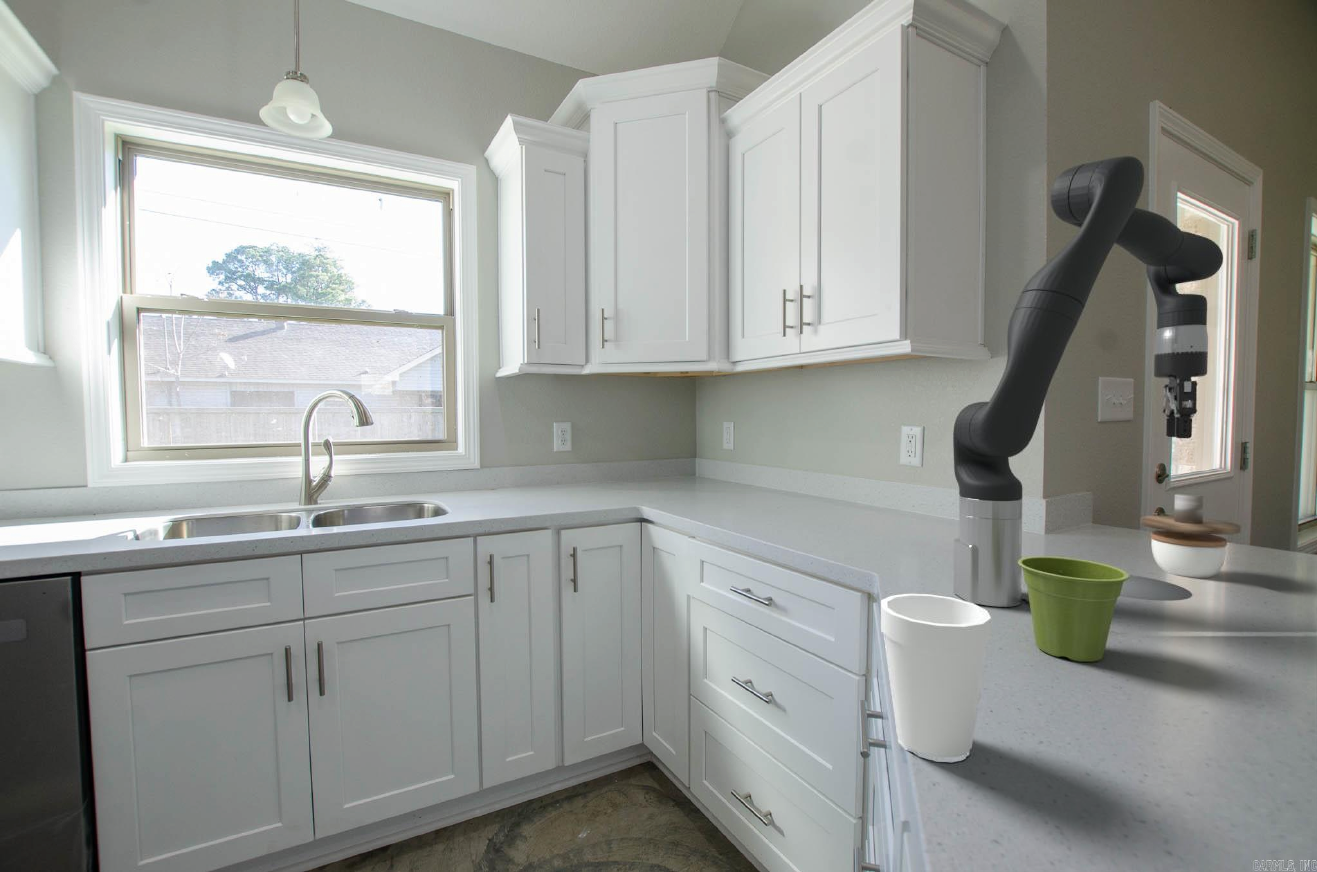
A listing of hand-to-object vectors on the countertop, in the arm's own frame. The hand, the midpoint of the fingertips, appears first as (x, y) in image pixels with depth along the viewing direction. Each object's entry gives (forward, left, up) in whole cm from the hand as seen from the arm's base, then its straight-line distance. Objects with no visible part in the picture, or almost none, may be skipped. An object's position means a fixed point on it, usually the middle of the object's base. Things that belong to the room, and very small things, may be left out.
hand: (1178, 437), depth 111 cm
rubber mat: (-16, -9, -26) cm, 32 cm away
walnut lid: (+1, -1, -17) cm, 17 cm away
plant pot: (-44, -37, -27) cm, 63 cm away
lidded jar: (+1, -1, -27) cm, 27 cm away
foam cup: (-71, -59, -27) cm, 96 cm away
